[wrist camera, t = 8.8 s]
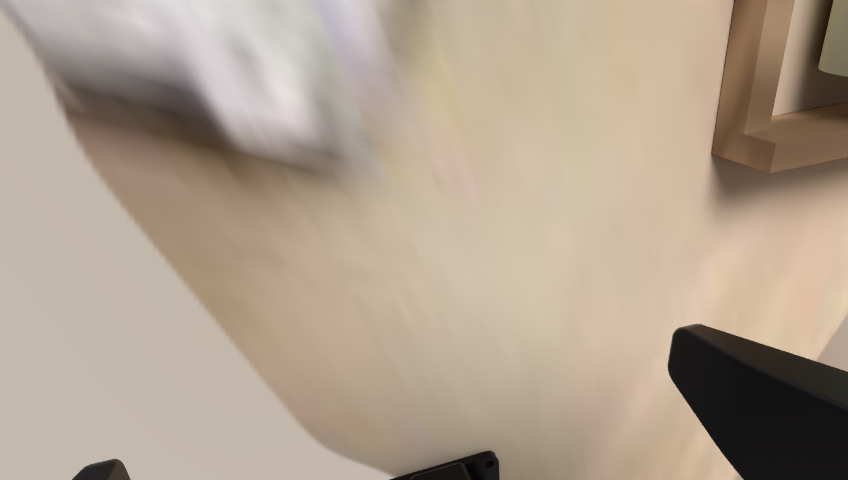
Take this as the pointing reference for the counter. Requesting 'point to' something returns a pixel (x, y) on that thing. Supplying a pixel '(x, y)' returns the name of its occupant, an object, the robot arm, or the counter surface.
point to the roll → (836, 41)
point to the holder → (769, 99)
